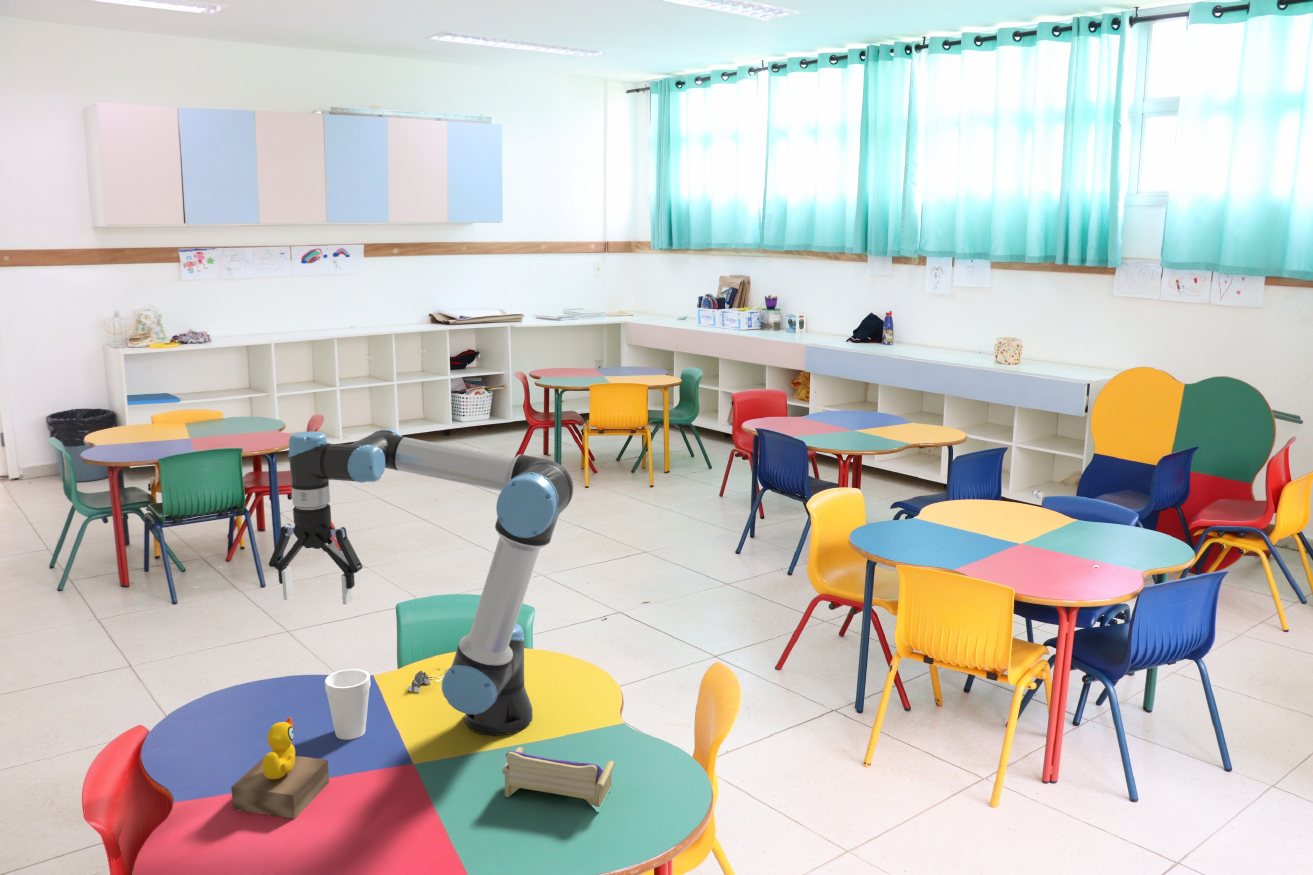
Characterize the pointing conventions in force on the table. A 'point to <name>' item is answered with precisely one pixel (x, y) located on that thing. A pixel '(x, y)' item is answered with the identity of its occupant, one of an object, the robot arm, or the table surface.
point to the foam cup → (348, 701)
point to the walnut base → (281, 788)
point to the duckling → (279, 750)
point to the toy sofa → (556, 776)
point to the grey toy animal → (420, 681)
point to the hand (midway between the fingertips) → (317, 600)
